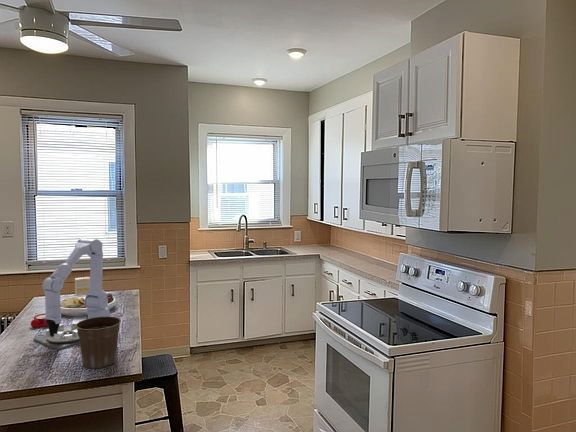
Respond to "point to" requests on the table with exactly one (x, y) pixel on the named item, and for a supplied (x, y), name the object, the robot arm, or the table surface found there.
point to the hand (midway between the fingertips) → (53, 336)
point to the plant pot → (98, 341)
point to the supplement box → (82, 286)
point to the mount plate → (55, 345)
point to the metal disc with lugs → (64, 334)
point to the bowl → (80, 305)
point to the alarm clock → (39, 321)
